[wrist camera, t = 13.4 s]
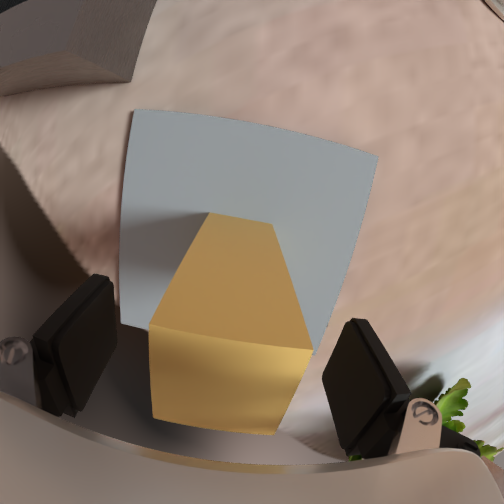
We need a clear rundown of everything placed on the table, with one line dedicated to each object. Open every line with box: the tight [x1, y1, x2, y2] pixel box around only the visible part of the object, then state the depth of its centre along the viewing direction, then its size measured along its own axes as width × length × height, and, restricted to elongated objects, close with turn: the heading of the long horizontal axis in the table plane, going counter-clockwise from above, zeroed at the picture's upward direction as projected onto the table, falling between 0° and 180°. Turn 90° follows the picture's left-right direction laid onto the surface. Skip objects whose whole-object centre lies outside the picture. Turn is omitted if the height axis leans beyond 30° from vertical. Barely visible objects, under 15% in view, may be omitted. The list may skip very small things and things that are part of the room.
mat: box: [119, 109, 378, 355], centre depth 18 cm, size 16×16×1 cm
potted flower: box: [348, 378, 504, 462], centre depth 21 cm, size 25×24×18 cm
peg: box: [149, 213, 314, 435], centre depth 13 cm, size 4×4×12 cm
